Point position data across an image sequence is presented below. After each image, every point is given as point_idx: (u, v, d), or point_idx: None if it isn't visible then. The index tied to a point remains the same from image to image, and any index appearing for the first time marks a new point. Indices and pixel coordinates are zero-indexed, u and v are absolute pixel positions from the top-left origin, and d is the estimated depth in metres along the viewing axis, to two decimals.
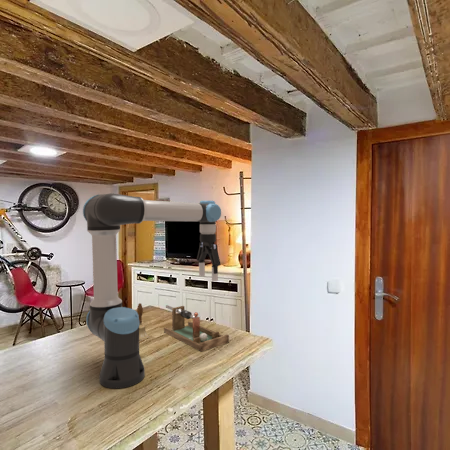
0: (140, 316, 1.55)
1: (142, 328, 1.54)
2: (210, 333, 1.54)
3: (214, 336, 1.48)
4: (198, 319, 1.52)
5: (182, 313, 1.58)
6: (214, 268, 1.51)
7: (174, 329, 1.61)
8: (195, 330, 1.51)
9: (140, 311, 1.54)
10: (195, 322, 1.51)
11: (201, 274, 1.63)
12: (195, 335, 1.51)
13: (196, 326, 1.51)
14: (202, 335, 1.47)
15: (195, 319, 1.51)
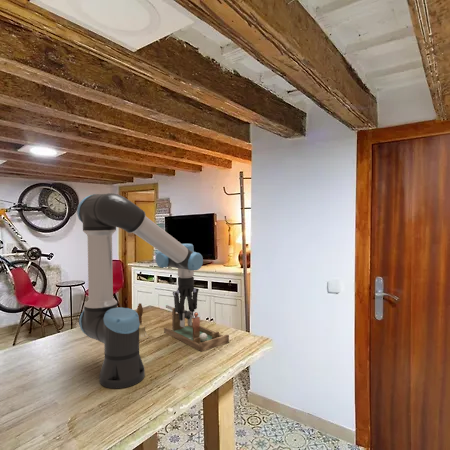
0: (140, 316, 1.55)
1: (142, 328, 1.54)
2: (210, 333, 1.54)
3: (214, 336, 1.48)
4: (198, 319, 1.52)
5: None
6: None
7: (174, 329, 1.61)
8: (195, 330, 1.51)
9: (140, 311, 1.54)
10: (195, 322, 1.51)
11: (188, 323, 1.60)
12: (195, 335, 1.51)
13: (196, 326, 1.51)
14: (202, 335, 1.47)
15: (195, 319, 1.51)
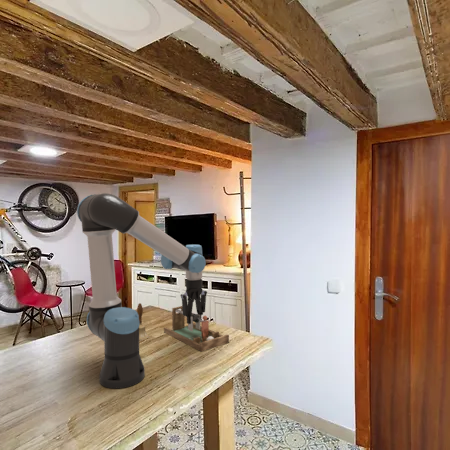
0: (140, 316, 1.55)
1: (142, 328, 1.54)
2: (210, 333, 1.54)
3: (214, 336, 1.48)
4: (207, 323, 1.47)
5: None
6: None
7: (174, 329, 1.61)
8: (204, 334, 1.46)
9: (140, 311, 1.54)
10: (204, 326, 1.46)
11: (196, 326, 1.54)
12: (204, 339, 1.46)
13: (205, 330, 1.46)
14: None
15: (204, 323, 1.46)
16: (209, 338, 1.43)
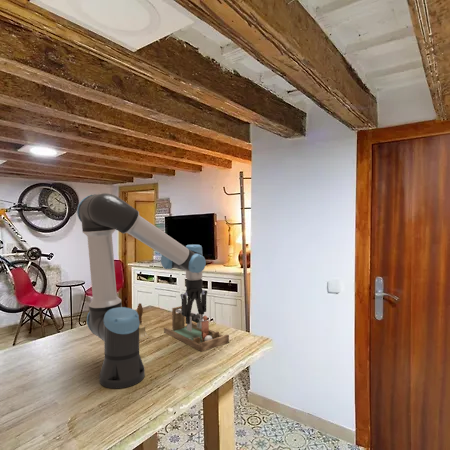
0: (140, 316, 1.55)
1: (142, 328, 1.54)
2: (210, 333, 1.54)
3: (214, 336, 1.48)
4: (207, 323, 1.47)
5: None
6: None
7: (174, 329, 1.61)
8: (204, 335, 1.46)
9: (140, 311, 1.54)
10: (204, 326, 1.46)
11: (198, 326, 1.55)
12: (204, 339, 1.46)
13: (205, 330, 1.46)
14: None
15: (204, 323, 1.46)
16: None
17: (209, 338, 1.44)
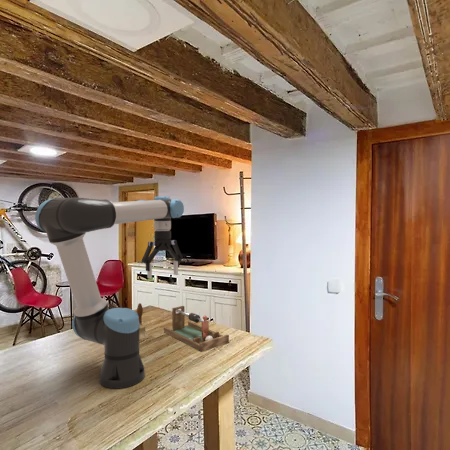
0: (140, 316, 1.55)
1: (142, 328, 1.54)
2: (210, 333, 1.54)
3: (214, 336, 1.48)
4: (207, 323, 1.47)
5: (190, 316, 1.52)
6: None
7: (174, 329, 1.61)
8: (204, 335, 1.46)
9: (140, 311, 1.54)
10: (204, 326, 1.46)
11: (174, 272, 1.58)
12: (204, 339, 1.46)
13: (205, 330, 1.46)
14: None
15: (204, 323, 1.46)
16: (207, 337, 1.44)
17: (210, 339, 1.43)
